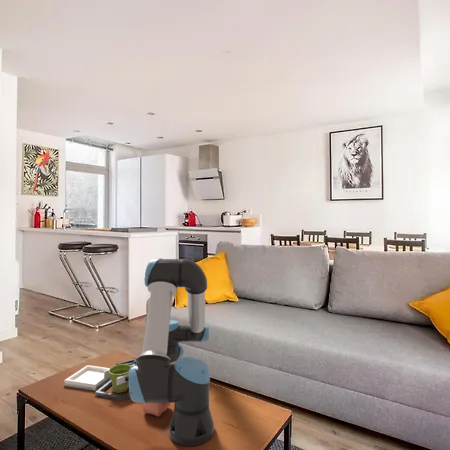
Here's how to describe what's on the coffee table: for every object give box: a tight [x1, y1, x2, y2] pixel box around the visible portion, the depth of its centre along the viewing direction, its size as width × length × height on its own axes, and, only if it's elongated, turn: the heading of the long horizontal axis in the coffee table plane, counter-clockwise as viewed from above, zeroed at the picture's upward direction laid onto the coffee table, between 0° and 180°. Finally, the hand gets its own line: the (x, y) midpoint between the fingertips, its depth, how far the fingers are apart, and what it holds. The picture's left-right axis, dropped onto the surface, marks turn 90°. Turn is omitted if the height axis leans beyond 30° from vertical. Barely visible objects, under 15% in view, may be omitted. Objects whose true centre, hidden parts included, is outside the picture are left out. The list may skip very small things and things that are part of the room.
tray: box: [64, 364, 111, 392], centre depth 145 cm, size 15×15×2 cm
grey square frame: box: [94, 379, 131, 402], centre depth 137 cm, size 14×14×2 cm
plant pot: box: [109, 364, 130, 394], centre depth 137 cm, size 9×9×9 cm
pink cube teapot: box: [142, 403, 171, 417], centre depth 122 cm, size 8×12×8 cm, turn 66°
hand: (110, 378), depth 133 cm, fingers closed on plant pot, 9 cm apart
